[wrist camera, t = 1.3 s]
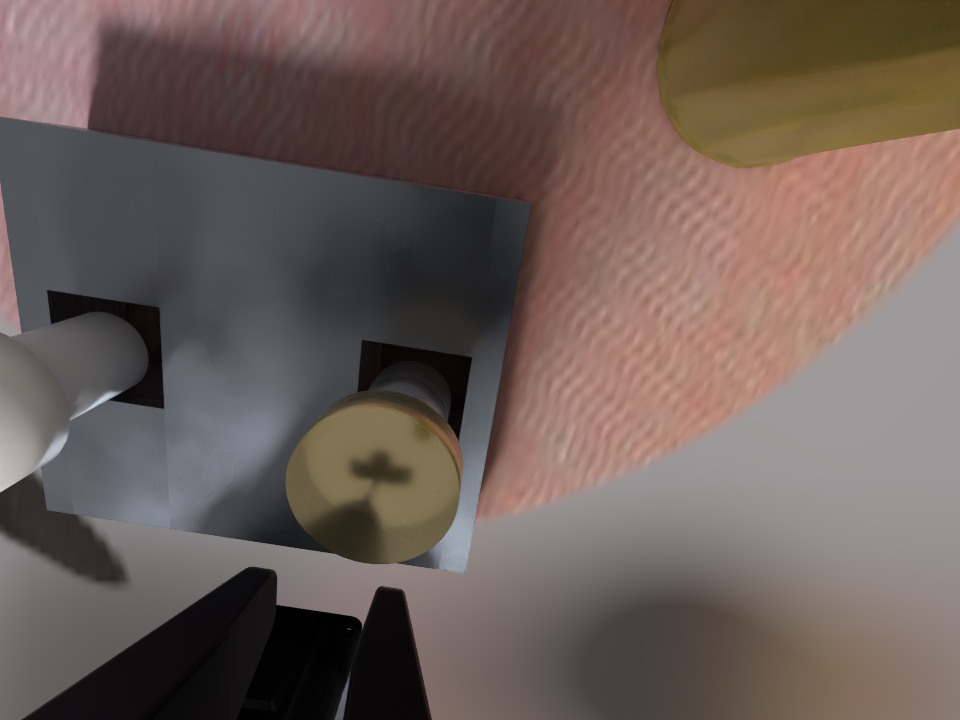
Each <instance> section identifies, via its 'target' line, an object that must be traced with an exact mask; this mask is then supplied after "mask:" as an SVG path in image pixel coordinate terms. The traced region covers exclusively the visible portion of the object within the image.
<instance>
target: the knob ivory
mask: <svg viewBox="0 0 960 720" xmlns="http://www.w3.org/2000/svg"><path fill="white" fill-rule="evenodd" d="M148 359H149V358H148V352H147V348H146V345H145V343H144V341H143V339H142V337H141V336H140V334H139V333H138V332H137V331H136V329H135V328H134V327H133V326H131V325H130V324H129V323H128V322H126V321H125V320H123V319H122V318H120V317H118V316H116V315H113V314H110V313H106V312H90V313H86V314H83V315H80V316H77V317H73V318H70V319H67V320H64V321H60V322H57V323H54V324H51V325H48V326H44V327H41V328H38V329H35V330H32V331H28V332H25V333H22V334H19V335H16V336H12V337H9V336H7V335H5V334H3V333H0V492H1V491H3V490H5V489H6V488H8V487H10V486H11V485H13V484H14V483H16V482H18V481H19V480H21V479H23V478H24V477H26V476H27V475H29V474H31V473H32V472H34V471H36V470H37V469H39V468H40V467H42V466H44V465H45V464H47V463H48V462H50V461H51V460H53V459H54V458H55V457H56V456H57V455H58V454H59V452H60V451H61V450H62V448H63V447H64V444H65V442H66V440H67V437H68V433H69V426H70V420H72V419H74V418H76V417H78V416H79V415H81V414H83V413H85V412H87V411H89V410H90V409H92V408H94V407H96V406H98V405H99V404H101V403H103V402H105V401H107V400H109V399H110V398H112V397H114V396H116V395H118V394H120V393H121V392H123V391H125V390H127V389H129V388H130V387H132V386H134V385H136V384H137V383H139V382H140V381H141V380H142V378H143V377H144V375H145V374H146V371H147V368H148Z"/></svg>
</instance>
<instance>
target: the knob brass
mask: <svg viewBox="0 0 960 720" xmlns="http://www.w3.org/2000/svg"><path fill="white" fill-rule="evenodd" d="M450 407H451V393H450V390H449V387H448V385H447V383H446V381H445V379H444V378H443V377H442V376H441V375H440V373H438V372H437V371H436V370H435V369H433V368H432V367H430V366H428V365H426V364H423V363H420V362H416V361H402V362H397V363H394V364H392V365H390V366H388V367H386V368H385V369H384V370H382V371H381V372H380V373H379V374H378V376H377V377H376V379H375V380H374V382H373V383H372V385H371V386H370V388H369V390H368V391H362V392H358V393H354V394H351V395H348V396H346V397H344V398H341V399H340V400H338V401H336V402H335V403H333V404H332V405H331V406H329V407H328V408H327V409H326V410H325V411H324V412H323V413H322V414H321V415H320V416H319V417H318V419H317V420H316V421H315V423H314V424H313V425H312V426H311V428H310V429H309V430H308V432H307V433H306V434H305V435H304V437H303V438H302V439H301V441H300V442H299V443H298V445H297V446H296V448H295V449H294V451H293V453H292V455H291V457H290V460H289V463H288V466H287V471H286V492H287V498H288V501H289V504H290V507H291V510H292V512H293V514H294V516H295V518H296V519H297V521H298V522H299V524H300V525H301V526H302V528H303V529H304V530H305V531H306V532H307V533H308V535H310V536H311V537H312V538H313V539H314V540H315V541H316V542H318V543H319V544H320V545H322V546H323V547H324V548H326V549H328V550H330V551H331V552H333V553H335V554H337V555H340V556H342V557H344V558H347V559H351V560H353V561H358V562H363V563H370V564H390V563H398V562H402V561H406V560H409V559H412V558H415V557H417V556H419V555H421V554H423V553H425V552H427V551H428V550H430V549H431V548H433V547H434V546H435V545H436V544H437V543H438V542H439V541H441V540H442V538H443V537H444V536H445V535H446V534H447V532H448V531H449V529H450V527H451V526H452V524H453V521H454V519H455V517H456V513H457V509H458V505H459V497H460V489H461V481H462V473H463V457H462V452H461V447H460V445H459V442H458V439H457V437H456V435H455V433H454V431H453V430H452V428H451V427H450V425H449V424H448V423H447V421H448V416H449V412H450Z"/></svg>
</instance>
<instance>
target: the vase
mask: <svg viewBox="0 0 960 720" xmlns="http://www.w3.org/2000/svg"><path fill="white" fill-rule="evenodd" d="M657 70H658V84H659V91H660V96H661V100H662V104H663V107H664V109H665V111H666V114H667V116H668V118H669V120H670V121H671V123H672V125H673V126H674V128H675V130H676V131H677V132H678V133H679V135H680V136H681V137H682V138H683V140H684V141H685V142H686V143H687V144H688V145H689V146H691V147H692V148H693V149H694V150H695V151H697V152H699V153H701V154H702V155H704V156H706V157H709V158H711V159H713V160H716V161H718V162H721V163H724V164H726V165H729V166H733V167H736V168H752V167H763V166H770V165H776V164H780V163H783V162H786V161H789V160H792V159H794V158H797V157H801V156H805V155H809V154H813V153H818V152H824V151H830V150H835V149H841V148H847V147H852V146H858V145H865V144H871V143H877V142H883V141H889V140H895V139H901V138H907V137H913V136H919V135H925V134H931V133H937V132H942V131H948V130H954V129H960V0H674V1H673V3H672V5H671V8H670V11H669V13H668V16H667V19H666V22H665V25H664V29H663V32H662V36H661V40H660V44H659V50H658V61H657Z"/></svg>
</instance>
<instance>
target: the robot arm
mask: <svg viewBox="0 0 960 720" xmlns="http://www.w3.org/2000/svg"><path fill="white" fill-rule="evenodd" d="M276 595H277V575H276V572H275V571H274V570H271V569H264V568H258V567H248V568H246V569H244V570H243V571H241V572H240V573H238V574H237V575H235V576H234V577H232V578H231V579H229V580H228V581H226V582H225V583H223V584H222V585H220V586H219V587H217V588H216V589H214V590H213V591H211V592H210V593H208V594H207V595H205V596H204V597H202V598H201V599H200V600H198V601H197V602H195V603H194V604H192V605H191V606H189V607H188V608H186V609H185V610H183V611H182V612H180V613H179V614H177V615H176V616H174V617H173V618H171V619H170V620H168V621H167V622H165V623H164V624H163V625H161V626H159V627H158V628H156V629H155V630H154V631H152V632H150V633H149V634H148V635H146V636H145V637H143V638H142V639H140V640H139V641H137V642H136V643H134V644H133V645H132V646H130V647H128V648H127V649H126V650H124V651H123V652H121V653H119V654H118V655H116V656H115V657H114V658H112V659H111V660H109V661H107V662H106V663H105V664H103V665H102V666H100V667H99V668H97V669H96V670H94V671H93V672H91V673H90V674H88V675H87V676H85V677H84V678H82V679H81V680H79V681H78V682H76V683H75V684H74V685H72V686H70V687H69V688H68V689H66V690H64V691H63V692H61V693H60V694H59V695H57V696H55V697H54V698H52V699H51V700H49V701H48V702H47V703H45V704H44V705H42V706H41V707H39V708H38V709H36V710H35V711H33V712H32V713H30V714H29V715H27V716H26V717H24V718H23V719H21V720H432V718H431V713H430V709H429V704H428V700H427V695H426V690H425V685H424V681H423V676H422V671H421V667H420V662H419V657H418V652H417V648H416V643H415V639H414V634H413V629H412V624H411V620H410V615H409V610H408V606H407V601H406V596H405V593H404V591H403V590H401V589H397V588H390V587H383V586H380V587H379V588H378V589H377V590H376V592H375V595H374V598H373V601H372V604H371V607H370V609H369V612H368V615H367V618H366V621H365V624H364V626H363V629H362V623H361V622H360V620H358V619H357V618H356V617H352V616H347V615H340V614H333V613H327V612H320V611H314V610H307V609H300V608H293V607H286V606H280V605H276ZM347 628H349V629H352V630H349V629H347Z"/></svg>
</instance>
